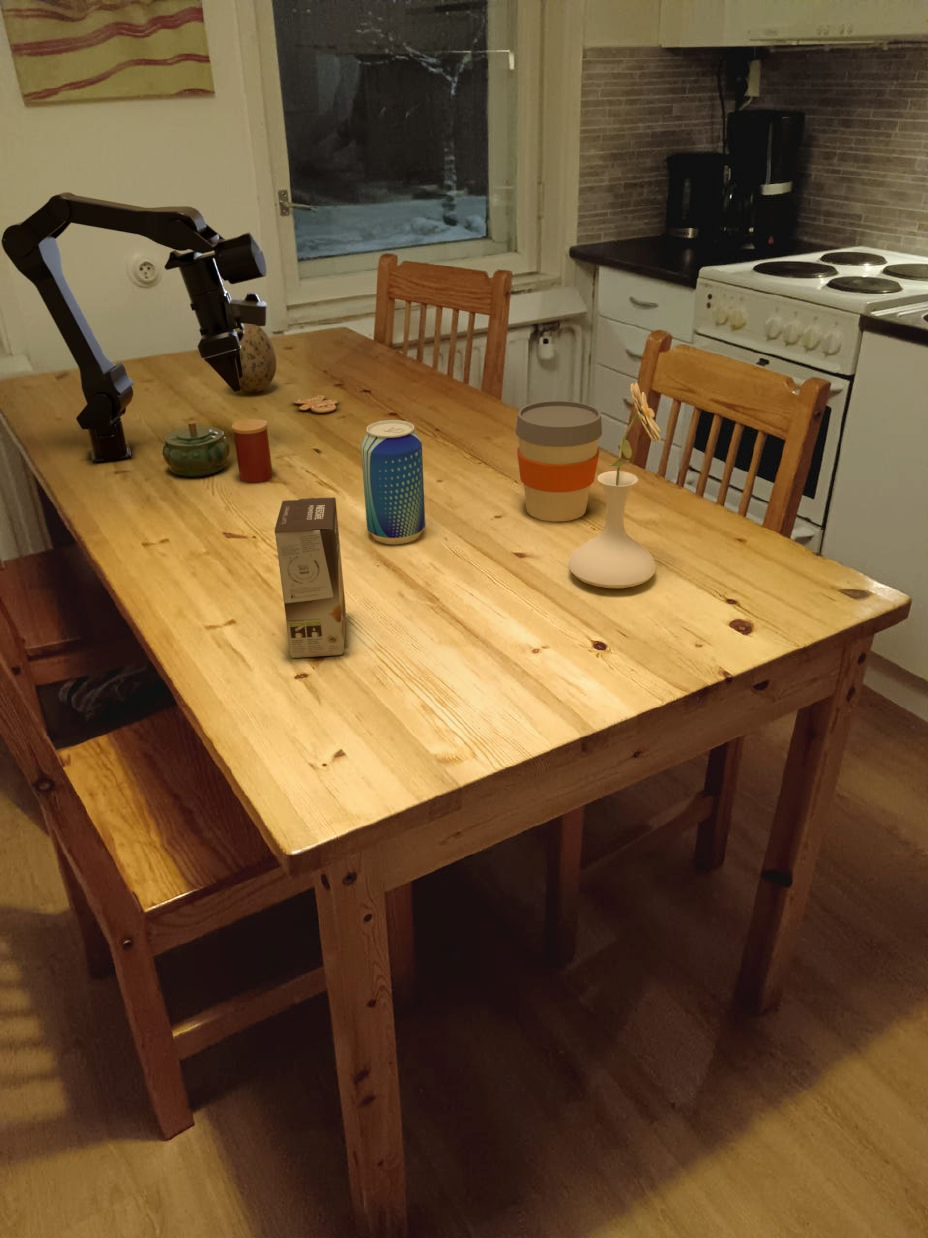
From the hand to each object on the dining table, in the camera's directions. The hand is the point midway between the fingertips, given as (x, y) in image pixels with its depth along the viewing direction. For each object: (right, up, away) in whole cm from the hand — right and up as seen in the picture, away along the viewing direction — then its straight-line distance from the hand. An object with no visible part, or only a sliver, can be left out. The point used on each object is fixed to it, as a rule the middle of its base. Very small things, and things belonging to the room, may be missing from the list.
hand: (239, 384), depth 162 cm
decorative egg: (-6, +8, +39) cm, 40 cm away
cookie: (+9, +2, +29) cm, 30 cm away
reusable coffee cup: (+52, -23, -16) cm, 59 cm away
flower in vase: (+58, -34, -35) cm, 76 cm away
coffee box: (+21, -42, -48) cm, 67 cm away
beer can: (+28, -28, -23) cm, 46 cm away
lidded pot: (-7, -14, +1) cm, 16 cm away
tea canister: (+4, -16, -3) cm, 17 cm away
